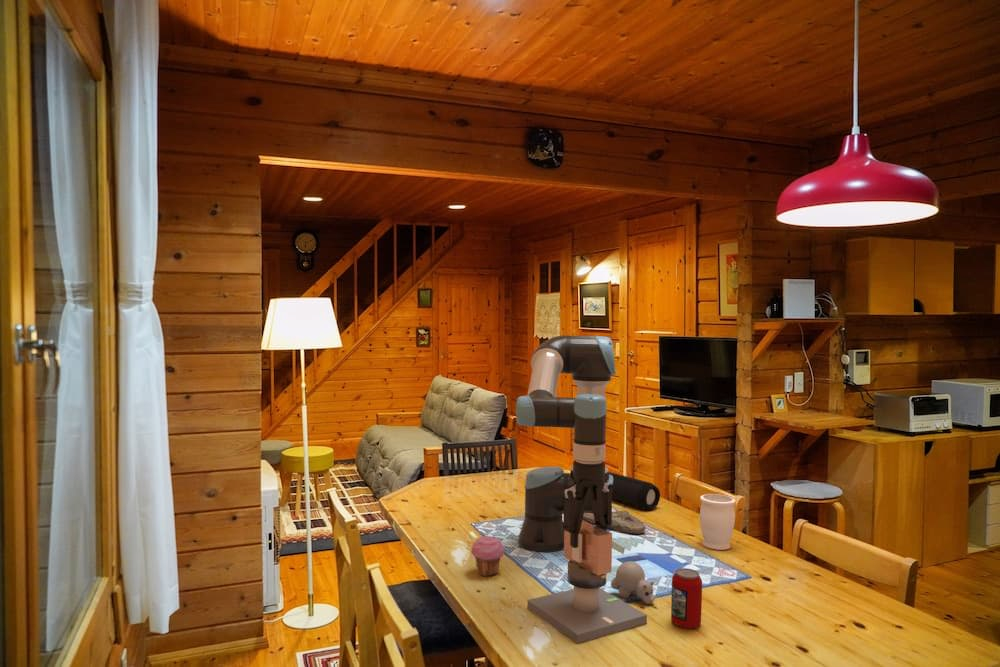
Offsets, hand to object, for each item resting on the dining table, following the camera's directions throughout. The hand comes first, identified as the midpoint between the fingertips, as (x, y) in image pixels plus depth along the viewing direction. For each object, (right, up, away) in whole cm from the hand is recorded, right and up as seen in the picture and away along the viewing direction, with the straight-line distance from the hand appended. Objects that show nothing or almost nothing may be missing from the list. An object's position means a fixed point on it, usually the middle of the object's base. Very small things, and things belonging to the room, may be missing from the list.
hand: (587, 558), depth 160 cm
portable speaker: (+27, -11, +97) cm, 101 cm away
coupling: (0, -6, 0) cm, 5 cm away
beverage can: (+23, -14, -3) cm, 27 cm away
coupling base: (0, -14, 0) cm, 14 cm away
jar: (+47, -13, +50) cm, 70 cm away
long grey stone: (+14, -12, +73) cm, 75 cm away
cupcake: (-24, -13, +25) cm, 37 cm away
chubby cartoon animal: (+13, -14, +11) cm, 22 cm away
